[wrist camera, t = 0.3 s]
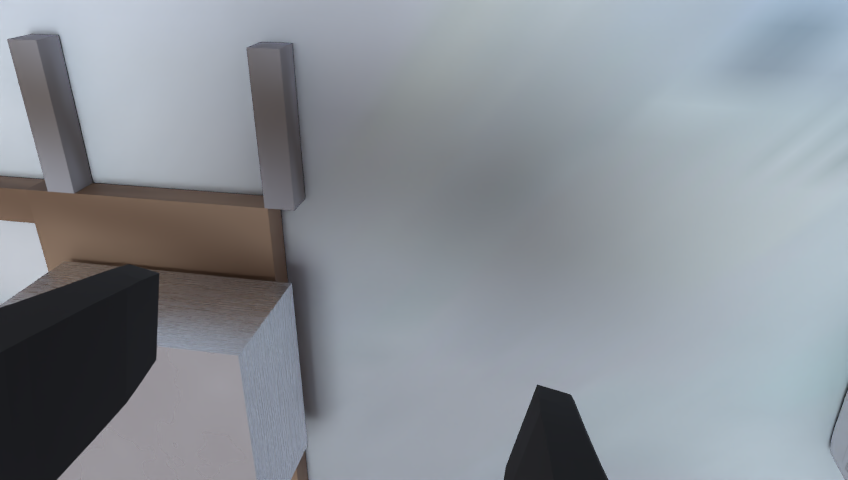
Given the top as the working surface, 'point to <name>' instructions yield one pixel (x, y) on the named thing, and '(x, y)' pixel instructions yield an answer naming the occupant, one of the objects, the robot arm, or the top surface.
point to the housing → (204, 385)
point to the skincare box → (841, 440)
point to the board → (156, 207)
